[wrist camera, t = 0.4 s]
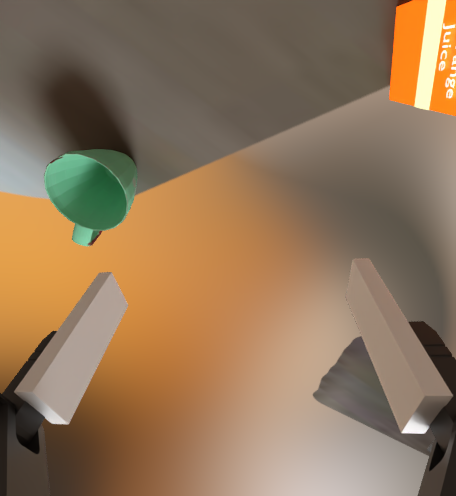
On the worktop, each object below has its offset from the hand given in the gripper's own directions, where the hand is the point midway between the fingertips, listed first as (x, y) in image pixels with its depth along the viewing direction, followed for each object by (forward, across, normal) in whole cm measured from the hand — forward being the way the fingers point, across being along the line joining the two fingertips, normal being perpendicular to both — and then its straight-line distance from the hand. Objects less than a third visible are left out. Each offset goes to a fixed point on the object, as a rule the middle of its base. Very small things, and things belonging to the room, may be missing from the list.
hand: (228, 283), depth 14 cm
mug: (+27, -20, -2) cm, 33 cm away
